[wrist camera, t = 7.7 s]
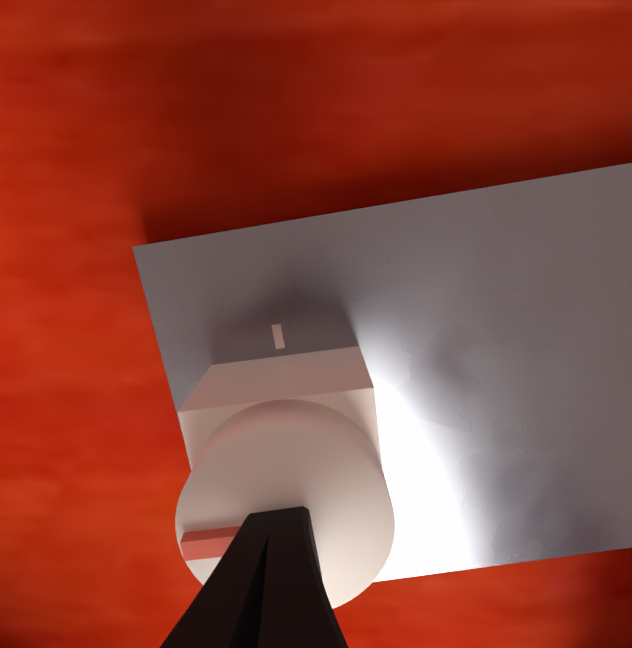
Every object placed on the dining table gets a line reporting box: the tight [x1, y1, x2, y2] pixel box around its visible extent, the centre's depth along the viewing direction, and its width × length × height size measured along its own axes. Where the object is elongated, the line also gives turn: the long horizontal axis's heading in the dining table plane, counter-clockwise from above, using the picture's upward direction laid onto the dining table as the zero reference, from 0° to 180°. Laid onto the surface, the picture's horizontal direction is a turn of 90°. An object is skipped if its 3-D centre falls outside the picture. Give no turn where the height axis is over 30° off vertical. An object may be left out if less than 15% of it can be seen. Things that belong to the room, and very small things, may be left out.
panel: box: [132, 163, 632, 582], centre depth 13 cm, size 14×18×4 cm
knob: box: [175, 346, 395, 609], centre depth 12 cm, size 5×5×5 cm
